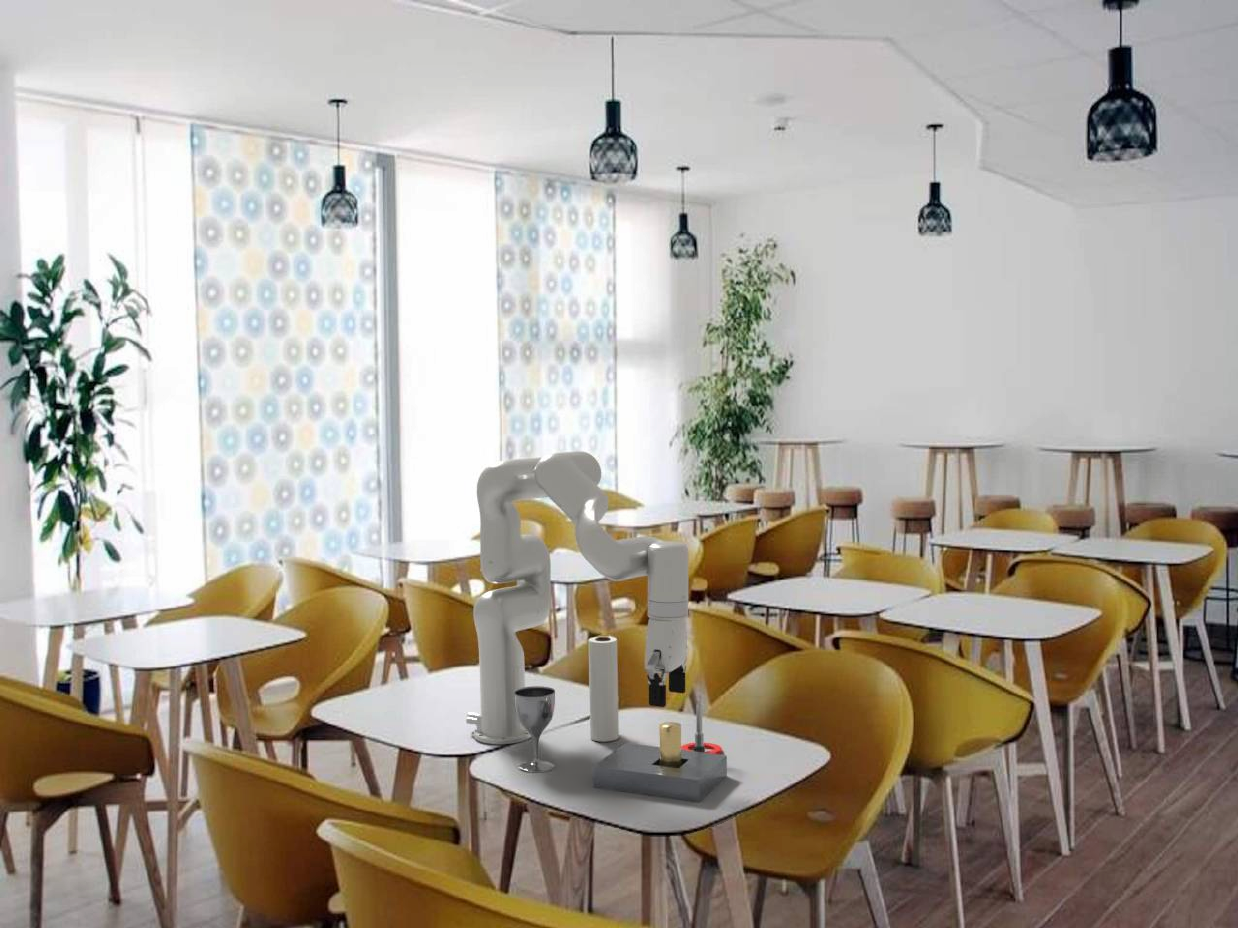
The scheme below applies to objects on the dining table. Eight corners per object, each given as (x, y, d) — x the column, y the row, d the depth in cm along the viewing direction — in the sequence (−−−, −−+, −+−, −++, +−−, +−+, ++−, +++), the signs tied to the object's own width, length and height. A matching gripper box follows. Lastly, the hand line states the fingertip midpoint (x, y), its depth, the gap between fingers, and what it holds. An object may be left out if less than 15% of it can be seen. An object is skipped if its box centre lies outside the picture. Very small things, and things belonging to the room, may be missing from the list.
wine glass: (562, 761, 234) (561, 687, 233) (547, 774, 227) (545, 698, 226) (525, 758, 237) (524, 684, 236) (509, 771, 229) (507, 695, 228)
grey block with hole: (593, 787, 219) (592, 766, 219) (626, 762, 233) (625, 742, 233) (699, 802, 211) (699, 780, 211) (726, 775, 224) (726, 755, 224)
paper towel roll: (602, 744, 245) (600, 642, 244) (584, 737, 250) (582, 638, 248) (628, 737, 250) (627, 637, 248) (611, 731, 254) (609, 633, 253)
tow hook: (682, 747, 244) (677, 759, 235) (682, 685, 244) (677, 694, 235) (723, 748, 243) (720, 761, 234) (723, 686, 242) (720, 696, 233)
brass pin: (656, 784, 220) (656, 726, 219) (665, 777, 224) (664, 721, 223) (676, 787, 219) (676, 729, 218) (684, 780, 222) (684, 723, 221)
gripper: (666, 598, 228) (666, 685, 230) (630, 615, 213) (630, 708, 214) (703, 601, 225) (702, 689, 227) (669, 619, 209) (668, 714, 211)
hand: (667, 698), depth 220 cm, fingers open, 9 cm apart
